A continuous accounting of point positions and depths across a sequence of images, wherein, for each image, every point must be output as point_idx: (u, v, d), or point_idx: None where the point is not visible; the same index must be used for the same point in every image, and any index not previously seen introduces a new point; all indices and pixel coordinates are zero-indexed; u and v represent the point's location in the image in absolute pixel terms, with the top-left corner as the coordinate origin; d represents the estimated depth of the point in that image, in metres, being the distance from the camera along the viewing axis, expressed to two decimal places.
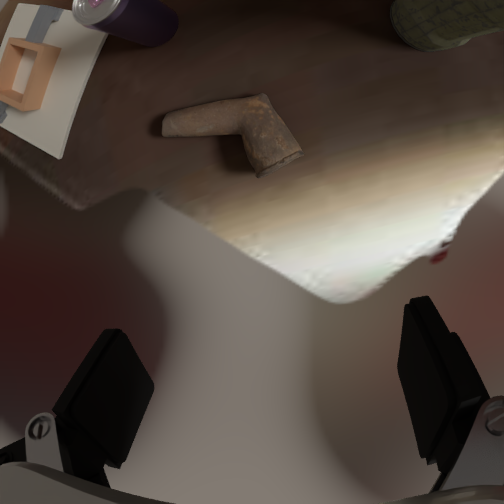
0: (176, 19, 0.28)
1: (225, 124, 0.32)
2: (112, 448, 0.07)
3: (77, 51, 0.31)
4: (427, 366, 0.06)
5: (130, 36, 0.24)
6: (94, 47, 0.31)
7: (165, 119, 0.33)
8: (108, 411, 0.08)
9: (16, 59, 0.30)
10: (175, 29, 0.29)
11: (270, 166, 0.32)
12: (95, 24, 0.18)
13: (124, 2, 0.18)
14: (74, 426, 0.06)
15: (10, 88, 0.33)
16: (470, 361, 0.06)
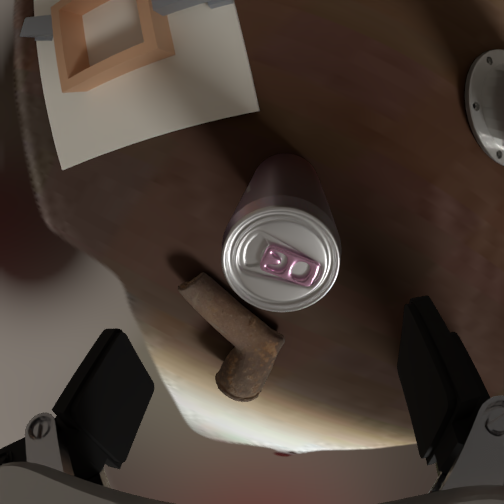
0: None
1: (233, 341, 0.32)
2: (112, 448, 0.07)
3: (185, 88, 0.24)
4: (427, 366, 0.06)
5: None
6: (206, 113, 0.25)
7: (194, 287, 0.30)
8: (108, 411, 0.08)
9: None
10: None
11: (231, 396, 0.33)
12: None
13: None
14: (74, 426, 0.06)
15: (81, 14, 0.20)
16: (470, 361, 0.06)
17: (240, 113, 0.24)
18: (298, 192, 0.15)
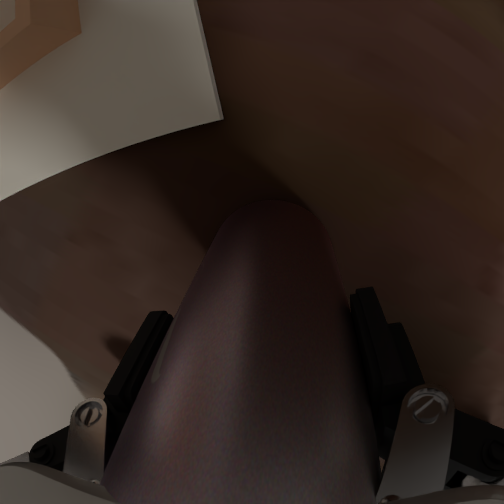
0: None
1: None
2: None
3: (95, 87, 0.12)
4: (363, 352, 0.07)
5: None
6: (128, 130, 0.13)
7: None
8: None
9: None
10: None
11: None
12: None
13: None
14: (127, 409, 0.07)
15: None
16: (410, 350, 0.07)
17: (186, 126, 0.13)
18: (285, 489, 0.03)
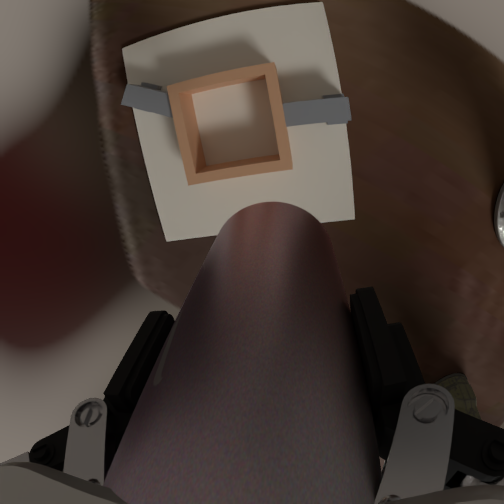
0: None
1: None
2: None
3: (299, 193, 0.32)
4: (362, 352, 0.07)
5: None
6: (314, 216, 0.33)
7: None
8: None
9: (240, 82, 0.27)
10: None
11: None
12: None
13: None
14: (127, 409, 0.07)
15: (192, 93, 0.28)
16: (410, 350, 0.07)
17: (340, 219, 0.33)
18: (287, 491, 0.03)
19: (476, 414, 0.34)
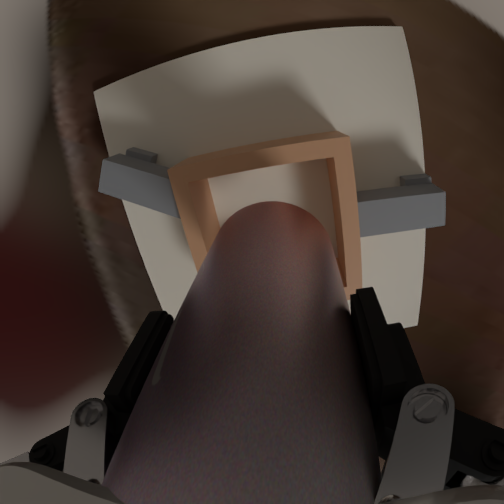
0: None
1: None
2: None
3: None
4: (363, 352, 0.07)
5: None
6: None
7: None
8: None
9: None
10: None
11: None
12: None
13: None
14: (127, 410, 0.07)
15: None
16: (410, 350, 0.07)
17: None
18: (285, 491, 0.03)
19: None
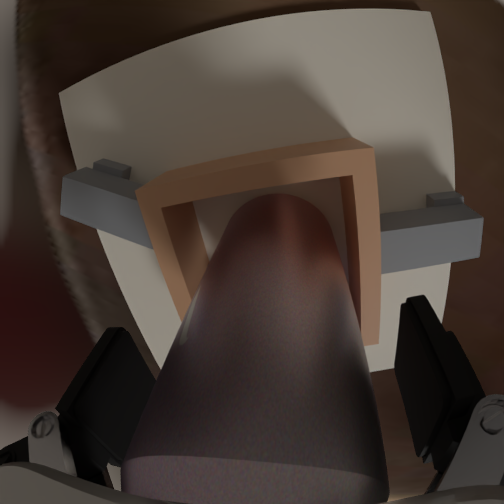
0: None
1: None
2: (115, 447, 0.07)
3: None
4: (423, 364, 0.06)
5: None
6: (383, 363, 0.21)
7: None
8: (111, 409, 0.08)
9: None
10: None
11: None
12: None
13: None
14: (77, 425, 0.06)
15: None
16: (466, 360, 0.06)
17: None
18: (299, 417, 0.04)
19: None
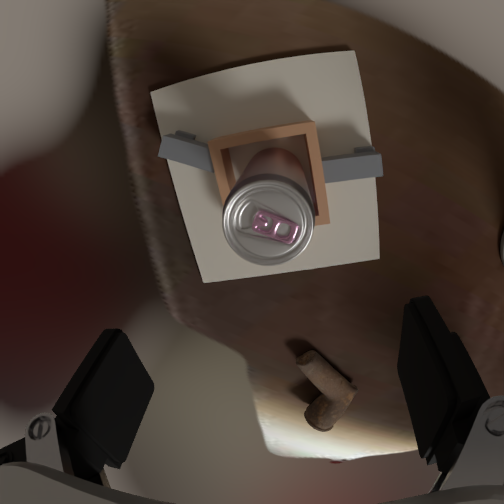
0: None
1: (328, 394, 0.43)
2: (112, 448, 0.07)
3: (331, 238, 0.35)
4: (427, 366, 0.06)
5: None
6: (343, 258, 0.36)
7: (311, 363, 0.41)
8: (108, 411, 0.08)
9: None
10: None
11: (318, 428, 0.44)
12: None
13: None
14: (74, 426, 0.06)
15: None
16: (470, 361, 0.06)
17: (367, 259, 0.35)
18: (280, 172, 0.19)
19: None
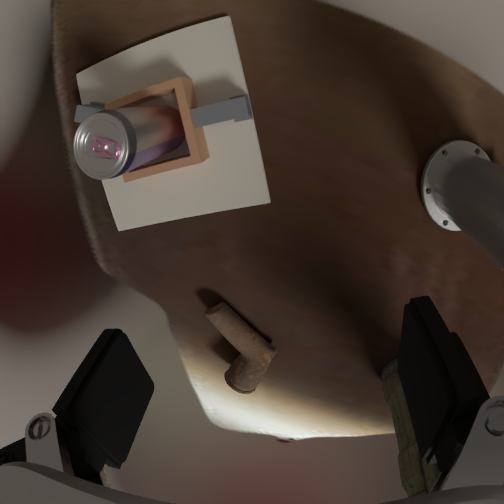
0: (177, 145, 0.34)
1: (241, 350, 0.46)
2: (112, 448, 0.07)
3: (218, 183, 0.37)
4: (427, 366, 0.06)
5: None
6: (233, 203, 0.38)
7: (217, 313, 0.44)
8: (108, 411, 0.08)
9: (162, 95, 0.32)
10: (170, 151, 0.35)
11: (236, 389, 0.47)
12: None
13: (115, 176, 0.23)
14: (74, 426, 0.06)
15: None
16: (470, 361, 0.06)
17: (257, 204, 0.38)
18: (115, 109, 0.22)
19: None
